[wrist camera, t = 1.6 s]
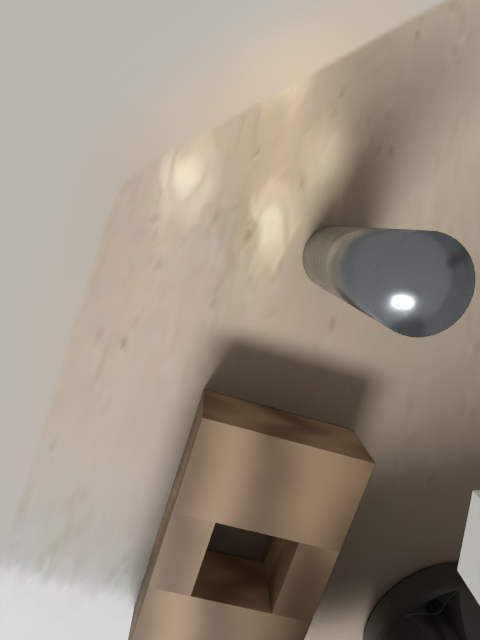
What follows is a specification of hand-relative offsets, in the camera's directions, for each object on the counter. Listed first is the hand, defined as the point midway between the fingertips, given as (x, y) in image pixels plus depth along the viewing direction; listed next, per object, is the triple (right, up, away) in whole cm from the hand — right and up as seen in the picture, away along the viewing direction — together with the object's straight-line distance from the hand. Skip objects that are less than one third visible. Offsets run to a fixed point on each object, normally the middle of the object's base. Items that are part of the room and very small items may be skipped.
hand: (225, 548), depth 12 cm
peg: (+7, +10, +21) cm, 24 cm away
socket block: (0, -10, +25) cm, 27 cm away
